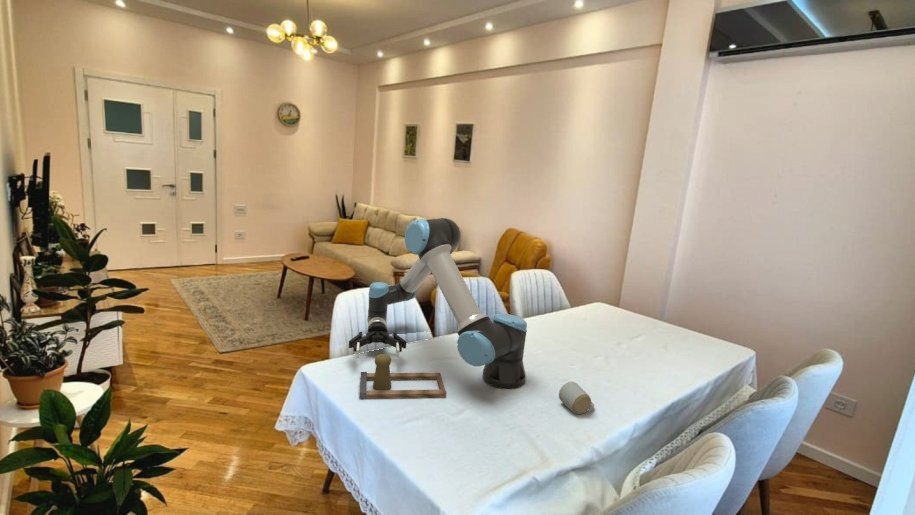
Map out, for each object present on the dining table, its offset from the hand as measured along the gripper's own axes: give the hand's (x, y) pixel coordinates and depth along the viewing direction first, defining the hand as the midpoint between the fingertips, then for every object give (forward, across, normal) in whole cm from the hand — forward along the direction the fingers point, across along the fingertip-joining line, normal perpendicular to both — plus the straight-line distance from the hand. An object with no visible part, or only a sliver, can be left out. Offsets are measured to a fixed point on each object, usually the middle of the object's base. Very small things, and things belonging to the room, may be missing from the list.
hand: (378, 354), depth 154 cm
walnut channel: (+10, -9, -7) cm, 15 cm away
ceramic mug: (+24, -63, -8) cm, 68 cm away
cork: (+9, -2, -7) cm, 12 cm away
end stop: (+9, +4, -7) cm, 13 cm away
